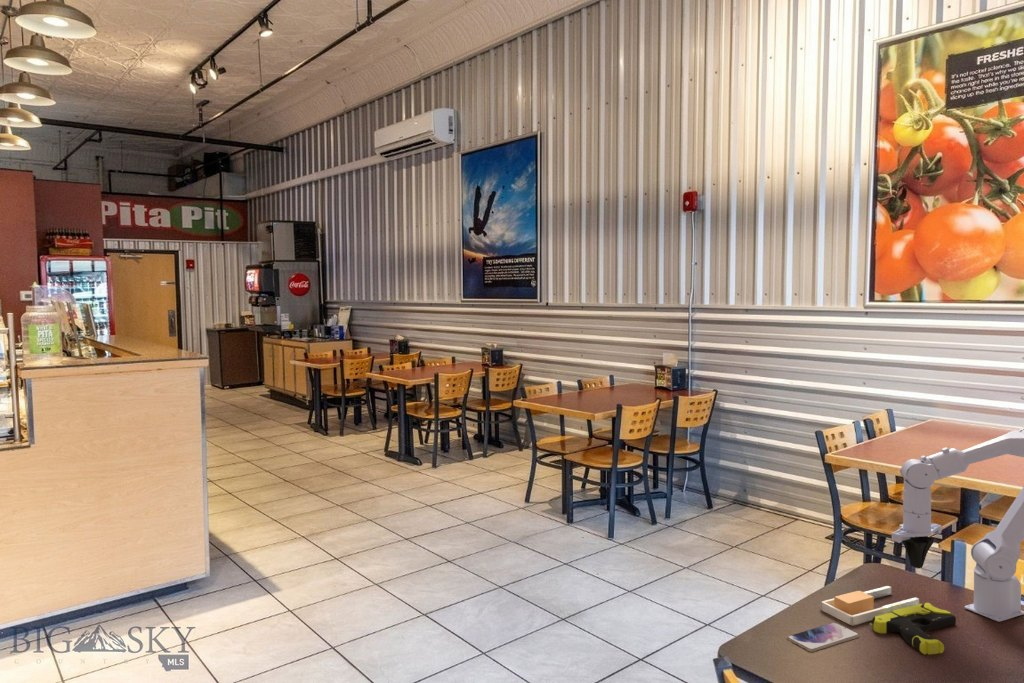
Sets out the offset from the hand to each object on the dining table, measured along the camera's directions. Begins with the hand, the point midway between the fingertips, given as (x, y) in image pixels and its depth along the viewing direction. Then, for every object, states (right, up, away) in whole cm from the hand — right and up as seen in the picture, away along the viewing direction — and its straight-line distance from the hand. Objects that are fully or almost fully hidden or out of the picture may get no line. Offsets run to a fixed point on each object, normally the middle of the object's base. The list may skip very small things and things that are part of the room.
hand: (916, 566), depth 162 cm
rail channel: (-6, -10, +2) cm, 11 cm away
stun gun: (-5, -11, -13) cm, 18 cm away
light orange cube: (-14, -10, -2) cm, 18 cm away
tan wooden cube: (-18, -10, -3) cm, 21 cm away
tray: (-16, -10, -2) cm, 19 cm away
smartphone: (-29, -12, -13) cm, 34 cm away
